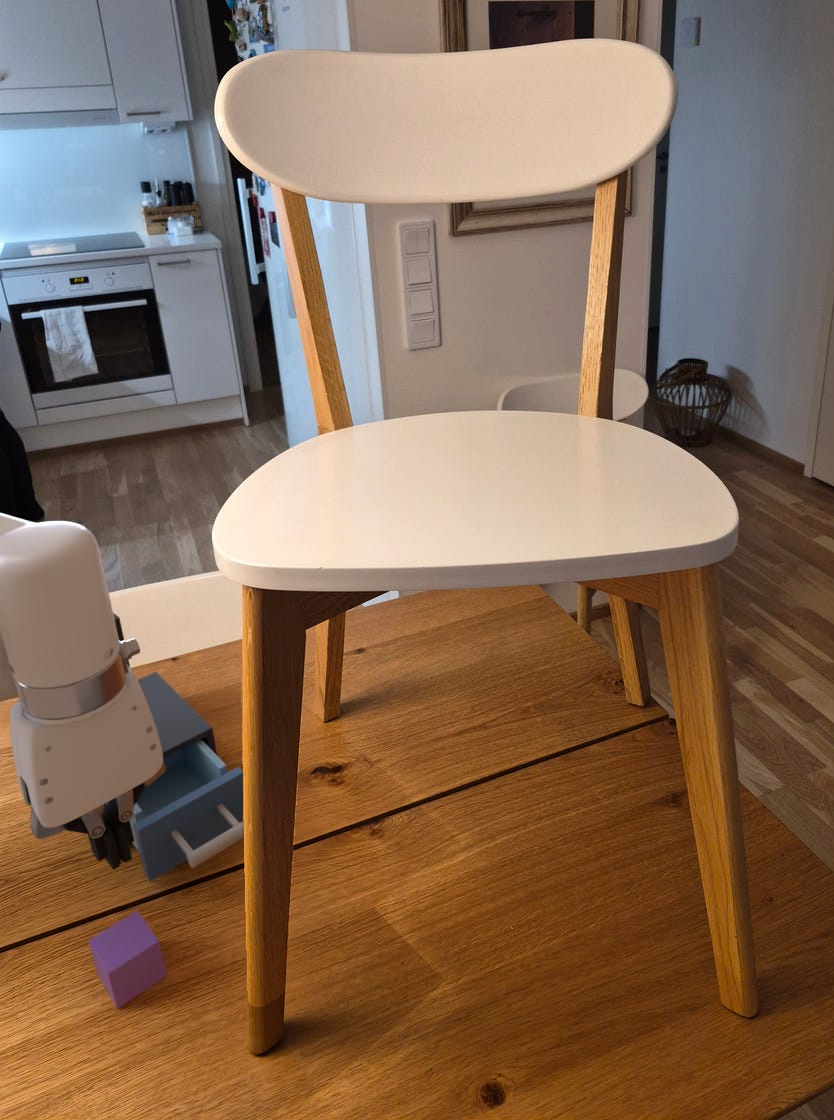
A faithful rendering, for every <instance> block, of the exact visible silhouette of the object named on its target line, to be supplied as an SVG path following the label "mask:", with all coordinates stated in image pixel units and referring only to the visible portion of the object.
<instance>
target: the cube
mask: <svg viewBox="0 0 834 1120" xmlns="http://www.w3.org/2000/svg"><path fill="white" fill-rule="evenodd" d="M88 945H89V949H90V953H91V956H92V961H93V963H94V968H95V971H96V975H97V977H98V979H99V980H100V982H101V984H102V986H103V988H104V989H105V991H106V992H107V994H108V996H109V997H110V999H111V1001H112V1002H113V1004H114V1006H115V1008H116V1009H117V1010H119V1009H120V1008H122V1007H123V1006H125V1005H126V1004H128V1003H129V1002H130V1001H132V1000H134V999H135V998H136V997H138V996H139V995H141V994H142V993H144V992H145V991H147V990H149V988H151V987H153V986H155V985H156V984H157V983H160V981H162V980H163V979H165V978H166V977H167V971H166V967H165V963H164V962H165V961H164V957H163V954H162V948H161V946H160V941H159V939H158V938H157V937H156V935H155V934H154V932H153V931H152V929H151V928H150V926H149V924H148V923H147V922H146V920H145V918H144V917H143V916H142V915H141V912H139V910H135V911H134V912H132V913H131V914H129V915H127V916H125V917H124V918H122V919H121V920H119V921H117V922H115V923H114V924H113V925H111V926H110V927H108V928H106V929H104V930H102V931H101V932H100V933H98V934H96V935H95V936H93V937H91V938H90V939H88Z"/></svg>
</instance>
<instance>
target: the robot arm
mask: <svg viewBox="0 0 834 1120" xmlns="http://www.w3.org/2000/svg"><path fill="white" fill-rule="evenodd" d="M113 613H114V611H113V605H112V602H111V596H110V591H109V587H108V582H107V578H106V572H105V569H104V564H103V559H102V555H101V549H100V546H99V543H98V541H97V538H96V537H95V535H94V534H93V532H92V531H91V530H90V529H88V528H87V527H85V525H82V524H79V523H77V522H73V521H68V520H47V521H40V522H34V521H31V520H26V519H24V518H20V517H16V516H13V515H10V514H6V513H2V512H0V635H1V638H2V642H3V646H4V649H5V653H6V656H7V660H8V664H9V667H10V670H11V675H12V677H13V681H14V685H15V688H16V693H17V696H18V700H16V701H15V702H14V703H13V704H12V705H11V707H10V711H9V729H10V733H9V734H10V740H11V742H10V743H11V751H12V756H13V763H14V767H15V772H16V777H17V783H18V787H19V790H20V793H21V795H22V799H23V801H24V803H25V804H26V806H27V807H30V806H31V807H30V809H31V810H30V831H31V832H32V834H33V835H34V836H35V838H36V839H37V840H45V839H47V838H50V837H52V836H56V835H59V834H62V833H63V832H64V831H68V832H71V833H72V832H73V833H79V834H83V835H87V836H88V841H89V844H90V848H91V851H92V854H93V855H94V858H95V859H96V860H97V862H101V861H103V860H105V861H106V862H107V864H108V865H109V867H110V868H111V870H113V871H115V870H117V869H118V868H120V867H121V865H122V863H125V864H127V863H129V862H130V861H132V860H133V856H132V852H131V848H130V845H131V844H133V843H132V842H134V838H133V833H132V829H131V825H130V819H131V818H132V817H133V814H134V805H135V804H136V802H137V801H138V799H139V797H140V796H141V794H142V792H143V791H144V789H145V786H149V785H150V784H151V783H152V782H154V781H155V780H156V779H158V778H159V777H160V776H161V775H163V774H164V773H165V771H166V766H165V765H164V763H163V752H162V747H161V742H160V739H159V735H158V732H157V728H156V725H155V722H154V719H153V716H152V714H151V711H150V708H149V705H148V703H147V700H146V698H145V695H144V693H143V691H142V688H141V686H140V684H139V682H138V679H137V676H136V674H135V673H134V671H133V670H132V669H131V666H130V667H129V666H128V665H127V664H128V660H129V661H130V660H132V659H133V657H134V656H137V655H139V654H140V653H141V647H140V645H139V642H138V641H137V639H136V638H135V637H131V638H130V639H127V640H125V639H124V640H123V641H121V642H120V641H119V638H118V634H117V629H116V624H115V620H114V615H113ZM105 803H106V804H107V806H106V807H104V808H102V809H103V813H102V816H101V815H100V813H99V812H98V811H97V809H96V808H97V807H99V806H101V805H103V804H105Z"/></svg>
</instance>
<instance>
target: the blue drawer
mask: <svg viewBox="0 0 834 1120" xmlns="http://www.w3.org/2000/svg"><path fill="white" fill-rule="evenodd" d="M163 763H164V765H165V766H166V771H165V773H164V774H163V775H161V776H160V777H159V778H158V779H156V780H155V781H154V782H152V783H151V784H150V785H149V786H145V789H144V791H143V792H142V794H141V796H140V797H139V799H138V801H137V802H136V804H135V805H134V814H133V817H132V818H131V819H130V825H131V829H132V833H133V838H134V842H132V843H131V844H132V845H133V846H134V848H135V849H136V850H137V852H138V853H139V855H140V859H141V864H142V869H143V873H144V876H145V877H146V879H147V880H148V882H150V883H151V882H152V881H154V880H156V879H157V878H159V877H160V876H162V875H164V874H165V873H168V872H169V871H171V870H172V869H174V868H176V867H178V866H180V865H181V864H182V863H184V862H186V861H187V862H188V865H189V866H190V868H192V869H194V868H196V867H197V866H200V865H201V864H203V863H204V862H206V861H207V860H209V859H210V858H212V857H214V856H216V855H217V854H219V853H221V852H222V851H224V850H225V849H227V848H229V847H231V846H233V845H234V844H235V843H237V842H239V841H240V840H242V839H244V838H245V837H244V822H243V772H244V771H243V770H242V769H241V767H240V766H236V767H235V768H232V770H229V771H228V767H227V766H228V765H227V764H226V763H225V762H224V761H223V760H222V759H221V758H220V756H218V754H217V755H216V754H215V753H214V752H213V751H212V750H211V749H210V748H209V747H208V746H207V745H206V744H205V743H204V742H203V741H202V740H199V741H197V742H195V743H193V744H191V745H189V746H187V747H185V748H183V749H181V750H179V751H177V752H175V753H173V754H171V755H170V756H168V757H166V758H164V759H163Z"/></svg>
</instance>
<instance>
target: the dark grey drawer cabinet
mask: <svg viewBox="0 0 834 1120" xmlns="http://www.w3.org/2000/svg"><path fill="white" fill-rule="evenodd" d="M137 680H138V682H139V684H140V686H141V688H142V691H143V693H144V695H145V698H146V700H147V703H148V705H149V708H150V711H151V714H152V716H153V719H154V722H155V725H156V728H157V732H158V735H159V739H160V742H161V747H162V752H163V759H164V758H166V757H168V756H170V755H171V754H173V753H175V752H177V751H179V750H181V749H183V748H185V747H187V746H189V745H191V744H193V743H195V742H197V741H199V740H202V741H203V742H204V743H205V744H206V745H207V746H208V747H209V748H210V749H211V750H212V751H213V752H214V753H215V754H216V755H217V756H218V751H217V746H216V745H217V744H216V740H215V735H214V728H213V726H211V724H209V722H208V721H206V720H205V719H204V718H203V716H201V715H200V714H199V713H198V712H197V711H196V710H195V709H194V707H192V706H191V705H190V704H189V702H187V701H186V700H185V699H184V698H183V697H182V696H181V695H180V694H179V693H178V692H177V691H176V690H175V689H174V688H173V687H172V686H171V685H170V684H169V683H168V682H167V681H166V680H165V679H164V678H163V677H162V676H161V675H160V674H159V673H158V672H157V671H154V672H152V673H150V674H147V675H145V676H142V677H140V678H138V679H137ZM106 806H107V804H106V803H105V804H103V805H101V806H99V807H97V808H96V809H97V811H98V812H99V813H100V815H101V816H102V813H103V809H102V808H104V807H106Z"/></svg>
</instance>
